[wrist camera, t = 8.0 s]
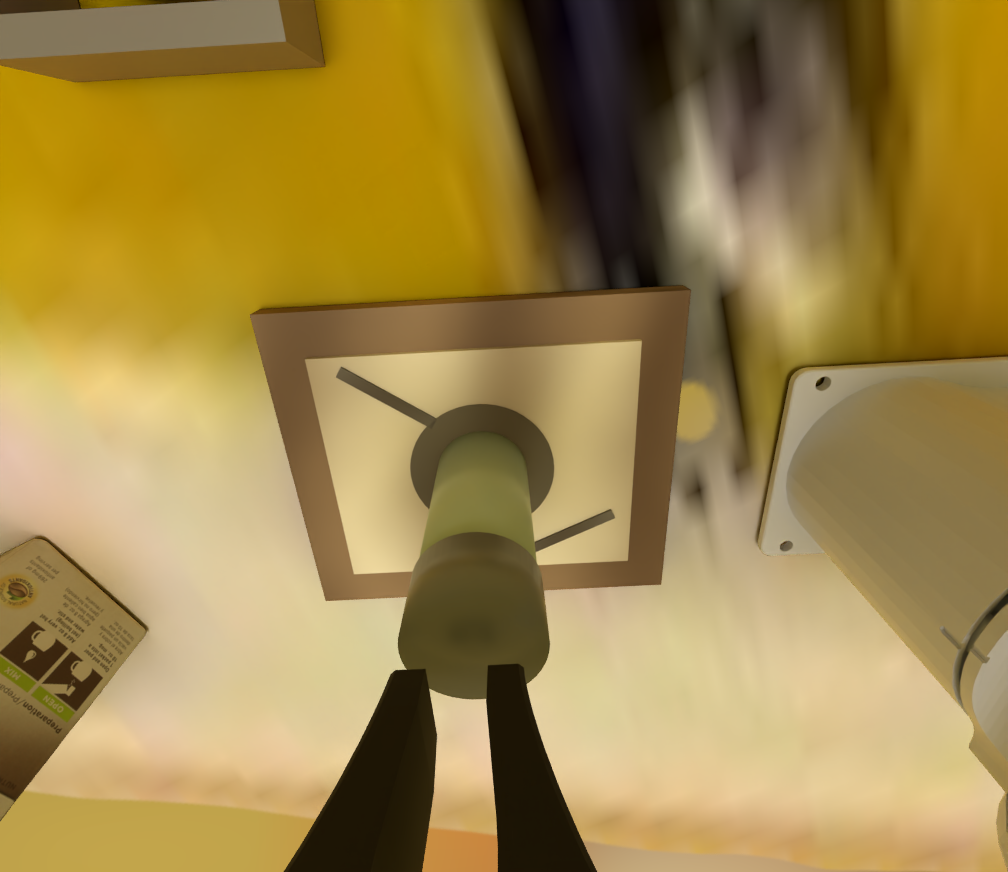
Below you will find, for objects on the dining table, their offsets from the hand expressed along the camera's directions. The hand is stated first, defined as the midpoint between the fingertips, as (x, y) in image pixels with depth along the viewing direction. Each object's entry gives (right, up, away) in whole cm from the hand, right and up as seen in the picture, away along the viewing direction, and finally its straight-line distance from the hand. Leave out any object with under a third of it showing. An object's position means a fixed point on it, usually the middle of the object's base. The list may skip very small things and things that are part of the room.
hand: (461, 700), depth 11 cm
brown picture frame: (0, +5, +9) cm, 10 cm away
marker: (0, +4, +8) cm, 9 cm away
